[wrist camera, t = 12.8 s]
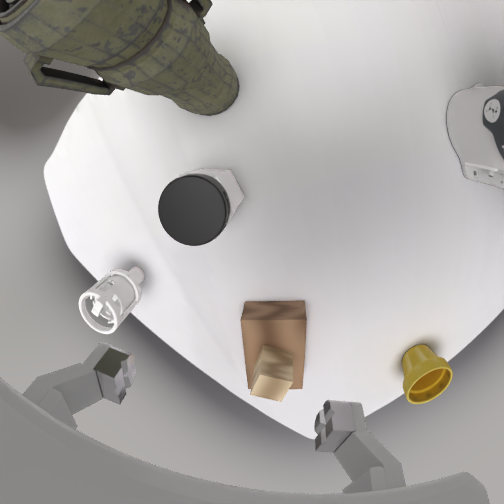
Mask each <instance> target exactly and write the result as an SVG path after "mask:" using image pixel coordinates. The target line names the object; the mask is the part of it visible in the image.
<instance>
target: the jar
mask: <svg viewBox="0 0 504 504" xmlns="http://www.w3.org/2000/svg"><path fill="white" fill-rule="evenodd" d="M243 199H244V195H243V193H242V191H241V189H240V187H239V185H238V183H237V181H236V179H235V177H234V175H233V173H232V171H231V170H225V169H204V168H202V169H198V170H194V171H190V172H186V173H182V174H180V176H179V177H178V178H176V179H175V180H173V181H172V182H170V183H169V184H168V185H167V186H166V188H165V189H164V190H163V192H162V194H161V196H160V200H159V205H158V213H159V218H160V221H161V224H162V226H163V228H164V229H165V231H166V232H167V233H168V234H169V235H170V236H171V237H172V238H173V239H174V240H176V241H178V242H180V243H182V244H185V245H190V246H198V245H203V244H206V243H208V242H210V241H212V240H213V239H216V237H217V236H218V235H219V234H220V233H221V232H222V231H223V229H224V228H225V226H226V225H227V224H228V222H229V221H230V219H231V218H232V216H233V215H234V213H235V212H236V209H237V208H238V206H239V205H240V203H241V202H242V200H243Z"/></svg>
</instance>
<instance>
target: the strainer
mask: <svg viewBox="0 0 504 504" xmlns="http://www.w3.org/2000/svg"><path fill="white" fill-rule="evenodd" d="M112 274H114V275H112ZM111 275H112V276H111ZM144 277H145V275H144V272H143V270H142V269H141V268H139V267H133V268H131V269H130V270H129V271H126V270H123V269H113V270H111V271H110V272H109V273H108V274H106V275H105V277H103V278H102V279H101V280H100V281H98V282H97V283H96V284H95V285H94V286H92V287H91V288H90V289H89V290H87V291H86V292H85V293H84V294H82V295H81V297H80V299H79V309H80V312H81V315H82V317H83V318H84V320H85V321H86V323H87V324H88V325H89V326H90V327H92V328H93V329H94V330H96V331H98V332H100V333H104V334H110V333H113V332H114V331H115V330H116V328H117V327H118V326H119V325H120V324H121V322H122V321H123V320H124V319H125V318H126V316H127V315H128V314H129V313H130V312H131V311H132V309H133V308H134V307H135V306H136V305H137V303H138V302H139V301H140V299H141V288H140V285H139V284H140V283H141V282H142V281H143V280H144ZM112 281H114V283H115V284H114V285H113V284H112ZM90 295H91V297H90V298H91V299H93V298H94V297H95V300H94V301H93V305H94V307H93V309H92V313H93V314H94V315H96V316H97V317H98V316H99V315H101V316H103V317H104V318H106V319H109V321H108V323H114V326H113V327H104V326H101V325H99V324H98V323H96V322H95V321H94V320H93V319H92V318H91V316H90V315H89V313H88V312H87V309H86V306H85V300H86V299H87V298H88V297H89V296H90ZM131 303H132V304H131ZM125 310H126V311H125ZM124 311H125V312H124ZM123 312H124V313H123ZM122 314H123V315H122ZM121 315H122V316H121ZM120 316H121V317H120Z"/></svg>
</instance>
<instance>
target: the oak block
mask: <svg viewBox="0 0 504 504" xmlns="http://www.w3.org/2000/svg"><path fill="white" fill-rule="evenodd" d="M292 383H293V352H292V351H288V350H284V349H280V348H276V347H272V346H269V345H265V344H263V346H262V349H261V351H260V353H259V356H258V358H257V360H256V363H255V366H254V373H253V380H252V386H251V393H250V395H254V396H258V397H262V398H267V399H271V400H276V401H282V400H283V398H284V396H285V395H286V393H287V391H288V390H289V388H290V387H291V385H292Z"/></svg>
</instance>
